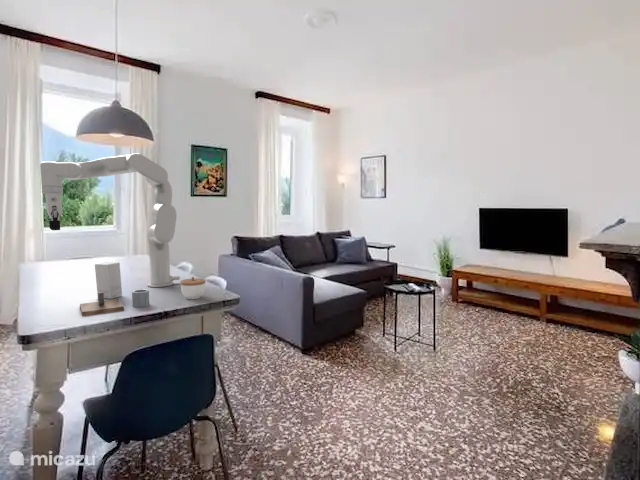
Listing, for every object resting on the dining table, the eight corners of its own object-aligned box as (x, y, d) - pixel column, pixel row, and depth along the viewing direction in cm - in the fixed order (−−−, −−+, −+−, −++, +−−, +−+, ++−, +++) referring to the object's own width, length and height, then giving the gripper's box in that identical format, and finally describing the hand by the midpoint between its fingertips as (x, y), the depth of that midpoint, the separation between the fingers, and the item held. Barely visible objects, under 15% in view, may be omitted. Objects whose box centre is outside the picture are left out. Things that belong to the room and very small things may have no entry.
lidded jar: (175, 299, 167) (174, 278, 166) (191, 293, 177) (191, 274, 176) (195, 301, 164) (194, 280, 163) (210, 295, 174) (210, 275, 173)
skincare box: (122, 296, 172) (121, 262, 171) (110, 299, 166) (108, 264, 164) (108, 294, 175) (107, 261, 173) (96, 297, 169) (94, 263, 167)
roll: (147, 302, 161) (146, 288, 160) (150, 305, 156) (149, 291, 156) (131, 304, 158) (131, 290, 157) (134, 307, 153) (133, 293, 152)
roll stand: (118, 302, 161) (117, 287, 160) (123, 310, 150) (123, 294, 149) (79, 307, 153) (79, 291, 152) (82, 316, 141) (81, 299, 141)
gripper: (64, 190, 160) (67, 230, 162) (60, 191, 174) (63, 228, 176) (42, 189, 156) (45, 231, 157) (40, 190, 169) (43, 228, 171)
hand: (54, 229), depth 166 cm, fingers open, 9 cm apart
